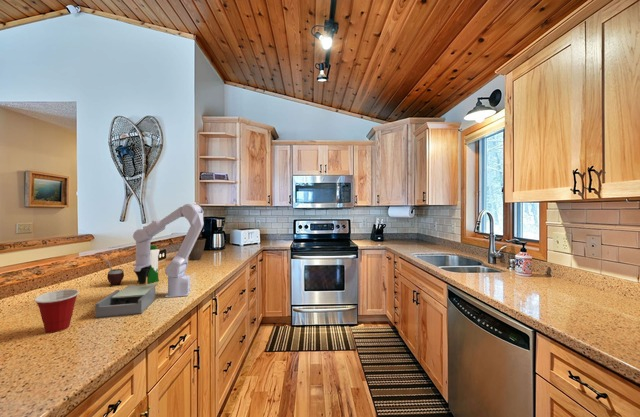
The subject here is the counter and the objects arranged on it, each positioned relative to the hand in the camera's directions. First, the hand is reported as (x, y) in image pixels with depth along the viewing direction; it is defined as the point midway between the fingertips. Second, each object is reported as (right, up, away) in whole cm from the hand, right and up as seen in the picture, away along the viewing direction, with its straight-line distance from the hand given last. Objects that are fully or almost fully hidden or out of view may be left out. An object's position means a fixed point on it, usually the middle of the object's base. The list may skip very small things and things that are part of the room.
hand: (142, 283), depth 124 cm
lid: (+2, -1, -7) cm, 8 cm away
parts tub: (+5, -6, -16) cm, 18 cm away
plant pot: (-16, -6, +86) cm, 87 cm away
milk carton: (-12, -6, +21) cm, 25 cm away
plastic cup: (-5, -6, -35) cm, 36 cm away
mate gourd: (-25, -6, +15) cm, 30 cm away
